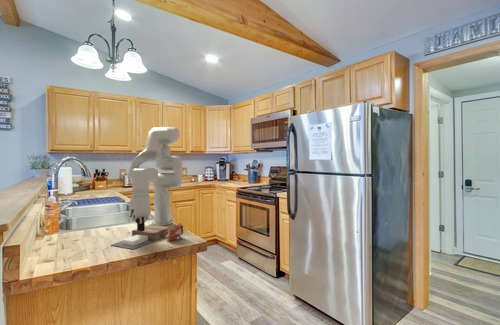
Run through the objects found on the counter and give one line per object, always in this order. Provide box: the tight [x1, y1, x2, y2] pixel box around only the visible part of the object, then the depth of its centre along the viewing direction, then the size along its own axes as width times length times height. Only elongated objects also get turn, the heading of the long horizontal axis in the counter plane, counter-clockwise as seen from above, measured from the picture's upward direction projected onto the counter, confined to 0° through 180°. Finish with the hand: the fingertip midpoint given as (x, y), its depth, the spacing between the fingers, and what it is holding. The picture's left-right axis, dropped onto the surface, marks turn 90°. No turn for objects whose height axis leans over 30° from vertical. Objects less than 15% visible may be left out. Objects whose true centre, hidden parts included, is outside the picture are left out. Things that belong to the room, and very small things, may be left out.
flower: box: [164, 222, 185, 241], centre depth 128 cm, size 10×9×8 cm
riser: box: [131, 224, 172, 243], centre depth 134 cm, size 13×14×4 cm
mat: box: [110, 240, 153, 251], centre depth 122 cm, size 12×14×1 cm
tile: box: [121, 235, 148, 246], centre depth 123 cm, size 9×7×2 cm
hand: (140, 230), depth 127 cm, fingers closed
